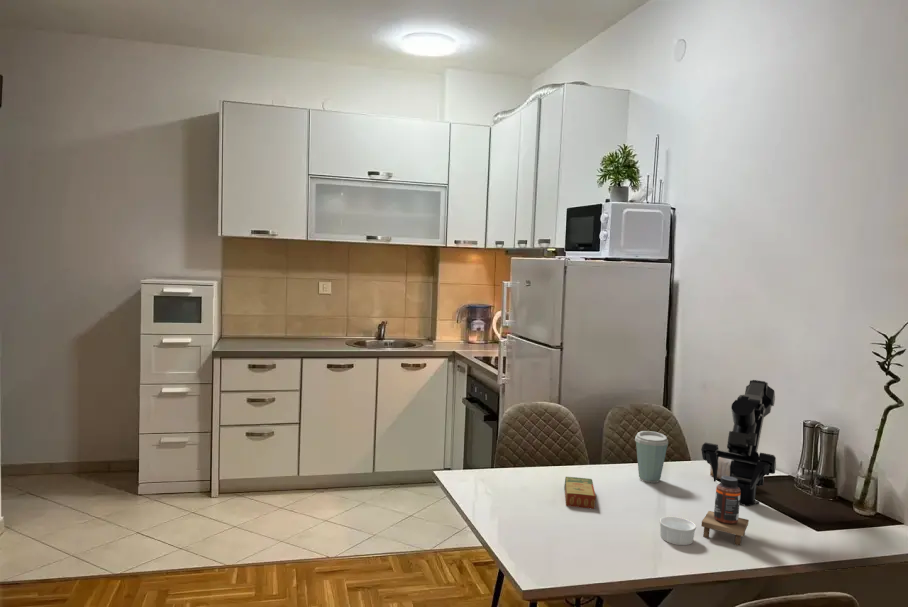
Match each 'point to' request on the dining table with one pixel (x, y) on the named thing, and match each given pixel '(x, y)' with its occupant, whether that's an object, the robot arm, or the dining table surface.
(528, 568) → the dining table surface
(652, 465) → the disposable coffee cup
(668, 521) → the ramekin
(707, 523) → the stool
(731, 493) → the supplement bottle
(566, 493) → the carton
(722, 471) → the food item
